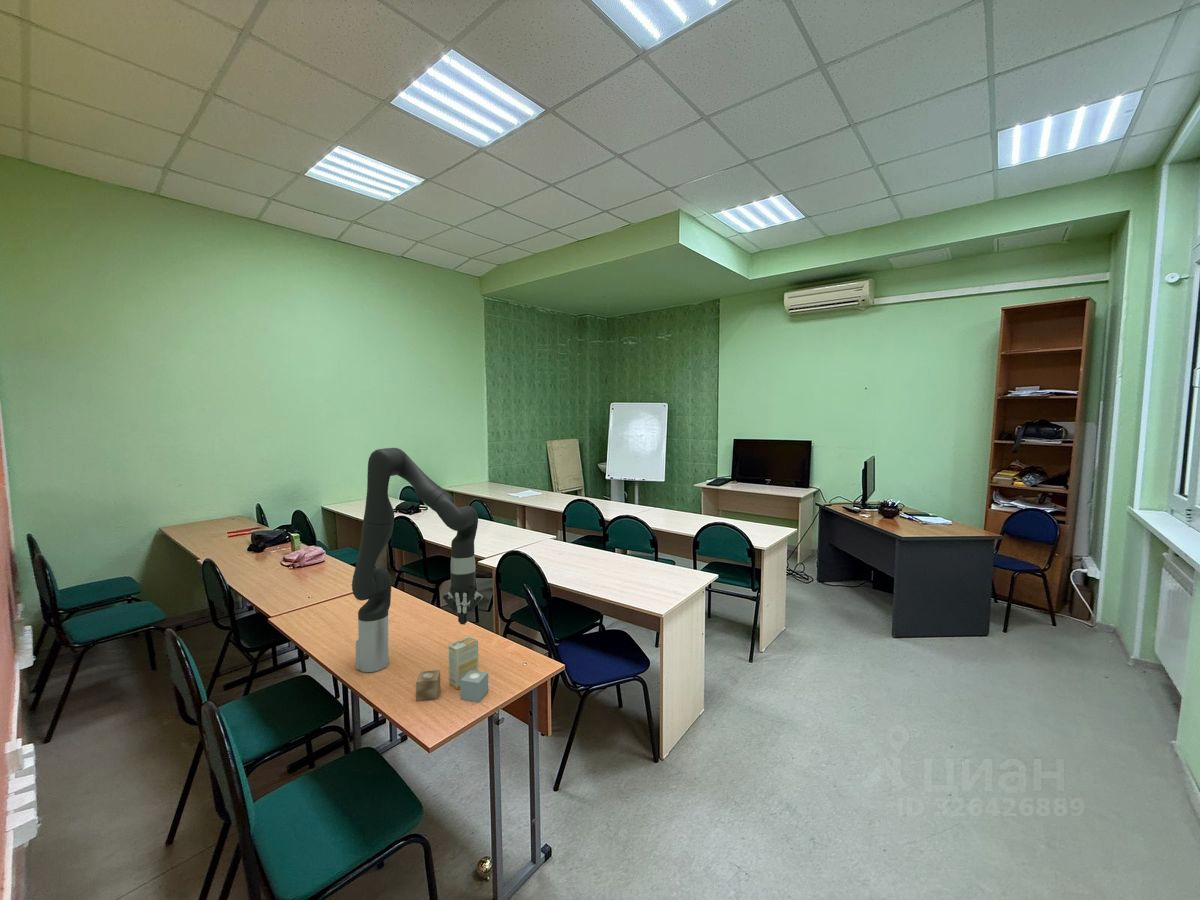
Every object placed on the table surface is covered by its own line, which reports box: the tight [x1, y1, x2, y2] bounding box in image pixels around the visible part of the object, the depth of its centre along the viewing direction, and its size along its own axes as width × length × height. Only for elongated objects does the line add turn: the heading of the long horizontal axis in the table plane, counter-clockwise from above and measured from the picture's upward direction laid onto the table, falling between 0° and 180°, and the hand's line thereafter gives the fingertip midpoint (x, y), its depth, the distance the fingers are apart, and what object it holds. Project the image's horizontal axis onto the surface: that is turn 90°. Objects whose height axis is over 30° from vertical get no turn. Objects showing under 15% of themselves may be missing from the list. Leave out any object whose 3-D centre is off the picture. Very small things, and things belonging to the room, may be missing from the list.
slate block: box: [459, 670, 489, 703], centre depth 142 cm, size 6×6×6 cm
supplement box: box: [447, 635, 479, 690], centre depth 149 cm, size 8×5×13 cm, turn 141°
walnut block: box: [415, 669, 441, 702], centre depth 142 cm, size 6×6×6 cm
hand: (463, 623), depth 149 cm, fingers closed
